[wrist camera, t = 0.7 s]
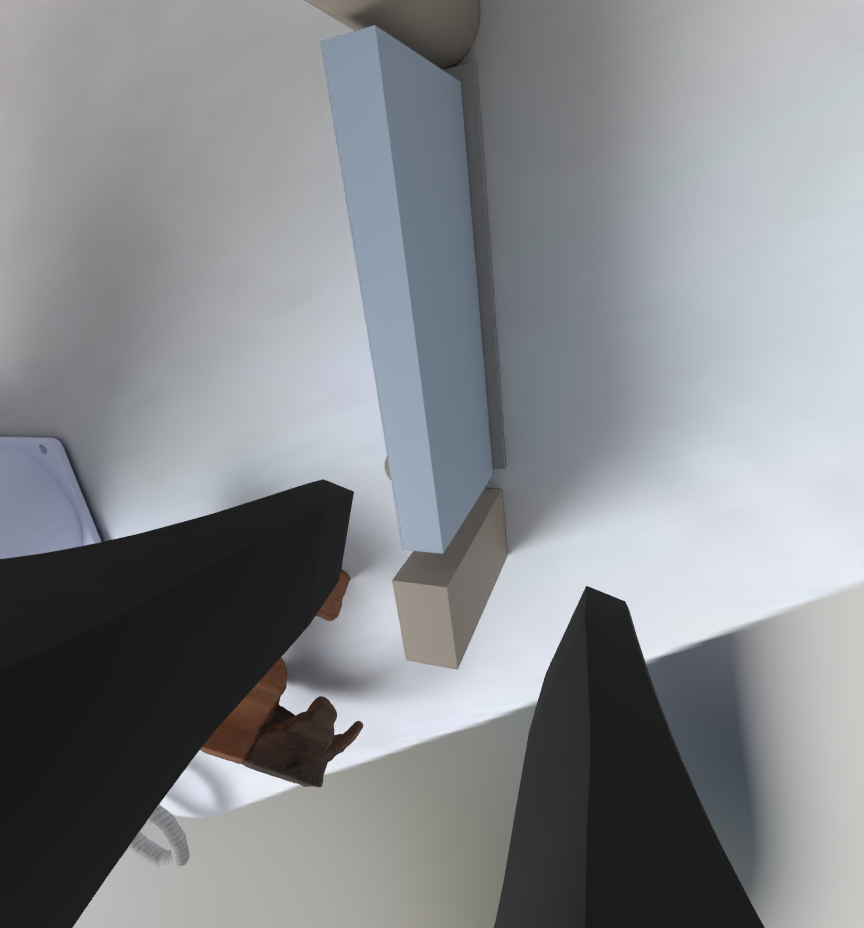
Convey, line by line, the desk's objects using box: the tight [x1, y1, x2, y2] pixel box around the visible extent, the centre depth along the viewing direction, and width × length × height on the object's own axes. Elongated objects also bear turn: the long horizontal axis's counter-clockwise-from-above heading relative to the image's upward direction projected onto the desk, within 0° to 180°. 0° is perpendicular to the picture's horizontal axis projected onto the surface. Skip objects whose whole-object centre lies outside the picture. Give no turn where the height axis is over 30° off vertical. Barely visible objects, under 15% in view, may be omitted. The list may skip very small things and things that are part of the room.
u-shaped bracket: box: [305, 0, 507, 670], centre depth 14 cm, size 2×20×6 cm, turn 7°
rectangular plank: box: [321, 25, 493, 554], centre depth 15 cm, size 12×2×5 cm, turn 7°
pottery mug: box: [200, 572, 363, 787], centre depth 25 cm, size 12×10×8 cm
